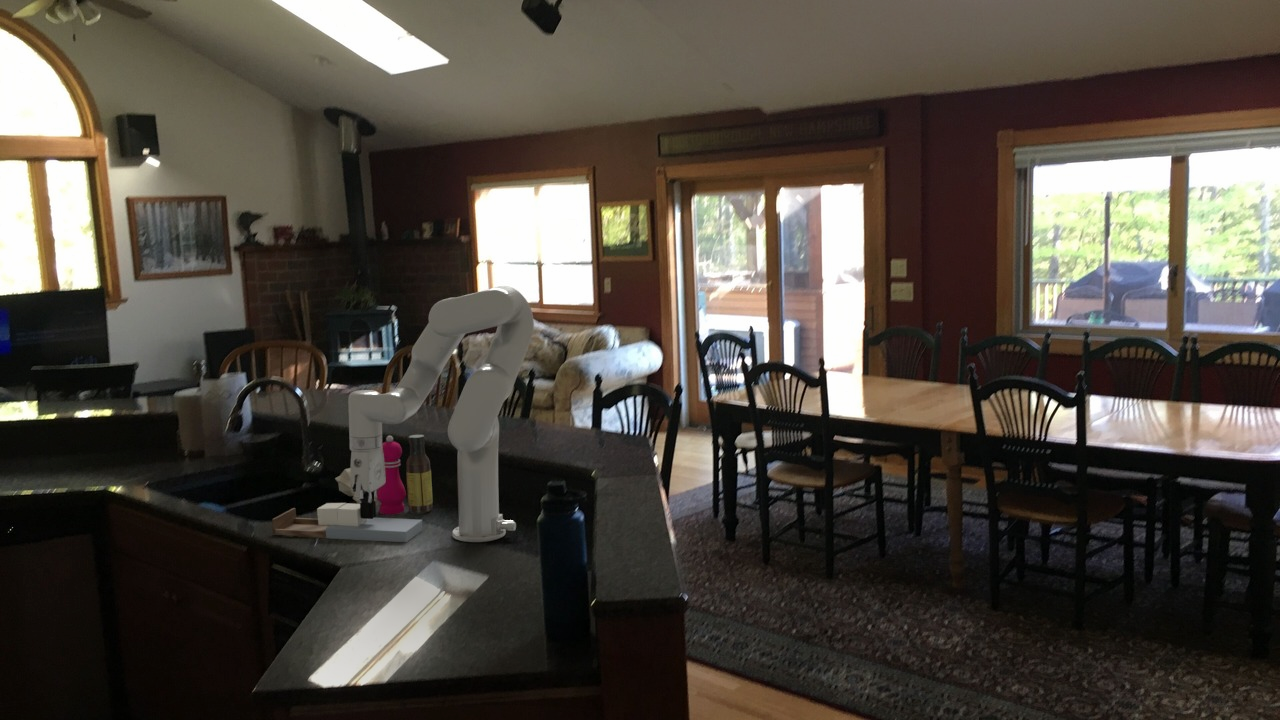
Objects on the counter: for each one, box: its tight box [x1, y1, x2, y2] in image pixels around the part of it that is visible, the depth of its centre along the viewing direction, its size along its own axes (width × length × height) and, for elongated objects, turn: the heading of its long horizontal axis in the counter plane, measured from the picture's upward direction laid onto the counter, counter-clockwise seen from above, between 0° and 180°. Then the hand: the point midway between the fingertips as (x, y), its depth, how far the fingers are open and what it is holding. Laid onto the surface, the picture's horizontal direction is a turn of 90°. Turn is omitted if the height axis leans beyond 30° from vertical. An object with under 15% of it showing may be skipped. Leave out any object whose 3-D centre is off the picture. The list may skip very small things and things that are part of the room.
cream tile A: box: [337, 502, 367, 526], centre depth 236 cm, size 5×5×4 cm
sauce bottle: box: [405, 434, 434, 514], centre depth 254 cm, size 6×6×20 cm
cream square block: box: [316, 502, 347, 525], centre depth 237 cm, size 5×5×4 cm
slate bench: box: [325, 517, 424, 543], centre depth 235 cm, size 20×10×2 cm, turn 81°
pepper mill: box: [376, 435, 407, 516], centre depth 254 cm, size 7×7×20 cm
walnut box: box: [271, 507, 330, 539], centre depth 238 cm, size 14×10×4 cm
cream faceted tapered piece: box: [334, 467, 379, 507], centre depth 263 cm, size 9×8×25 cm
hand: (368, 517), depth 235 cm, fingers closed
